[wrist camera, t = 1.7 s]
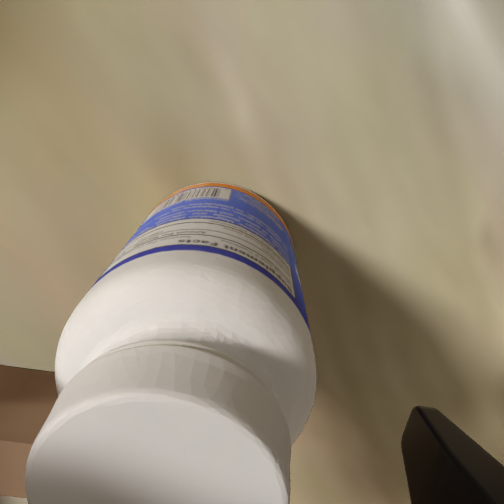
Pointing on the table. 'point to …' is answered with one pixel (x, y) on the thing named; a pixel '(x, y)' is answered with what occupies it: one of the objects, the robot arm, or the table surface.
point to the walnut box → (21, 421)
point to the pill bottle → (183, 364)
